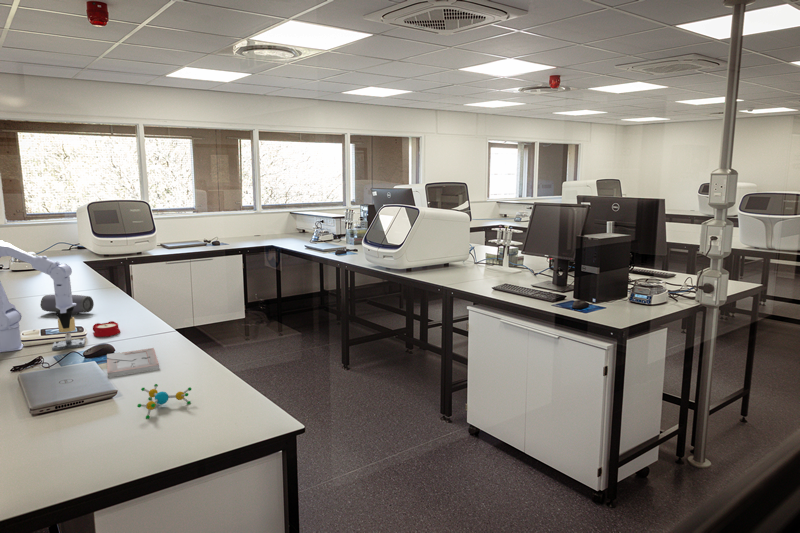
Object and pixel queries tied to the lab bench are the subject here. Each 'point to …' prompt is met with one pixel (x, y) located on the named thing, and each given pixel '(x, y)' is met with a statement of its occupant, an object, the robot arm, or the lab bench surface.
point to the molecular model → (161, 398)
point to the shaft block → (68, 343)
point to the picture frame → (131, 362)
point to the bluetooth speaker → (82, 302)
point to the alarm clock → (106, 329)
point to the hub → (71, 328)
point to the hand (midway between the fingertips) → (66, 326)
